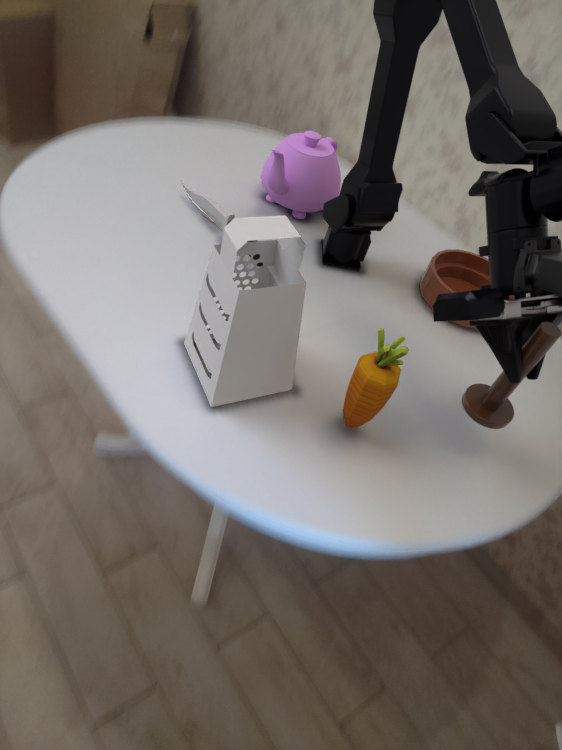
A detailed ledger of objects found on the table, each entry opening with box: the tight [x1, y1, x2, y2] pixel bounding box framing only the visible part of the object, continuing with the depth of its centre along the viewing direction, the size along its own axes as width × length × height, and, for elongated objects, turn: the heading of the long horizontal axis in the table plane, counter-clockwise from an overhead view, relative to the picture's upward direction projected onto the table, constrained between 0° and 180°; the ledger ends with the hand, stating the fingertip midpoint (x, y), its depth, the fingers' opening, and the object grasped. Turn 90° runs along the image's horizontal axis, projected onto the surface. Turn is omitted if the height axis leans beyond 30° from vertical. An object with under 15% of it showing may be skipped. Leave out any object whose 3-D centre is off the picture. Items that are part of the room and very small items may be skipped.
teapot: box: [260, 130, 342, 220], centre depth 88 cm, size 20×14×12 cm
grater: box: [183, 215, 307, 408], centre depth 57 cm, size 10×10×20 cm
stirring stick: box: [461, 322, 562, 430], centre depth 55 cm, size 6×6×13 cm
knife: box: [181, 180, 263, 268], centre depth 80 cm, size 25×2×5 cm, turn 37°
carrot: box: [342, 327, 409, 430], centre depth 56 cm, size 5×5×15 cm
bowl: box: [419, 248, 514, 330], centre depth 82 cm, size 14×14×5 cm
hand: (523, 381), depth 55 cm, fingers closed on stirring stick, 2 cm apart
